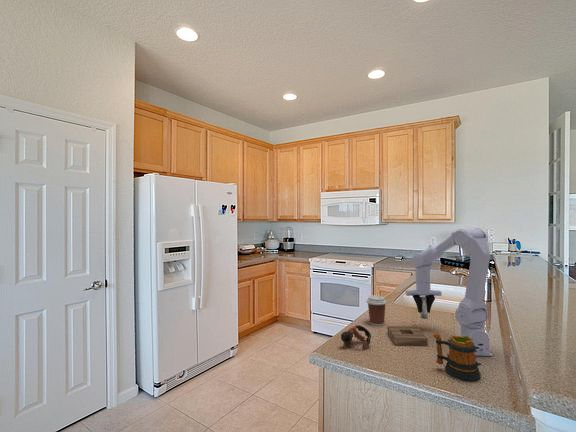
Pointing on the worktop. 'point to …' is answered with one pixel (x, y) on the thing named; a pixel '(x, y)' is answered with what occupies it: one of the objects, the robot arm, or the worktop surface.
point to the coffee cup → (376, 309)
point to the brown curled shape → (347, 336)
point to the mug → (459, 358)
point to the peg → (424, 308)
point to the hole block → (407, 335)
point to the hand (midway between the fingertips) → (423, 312)
